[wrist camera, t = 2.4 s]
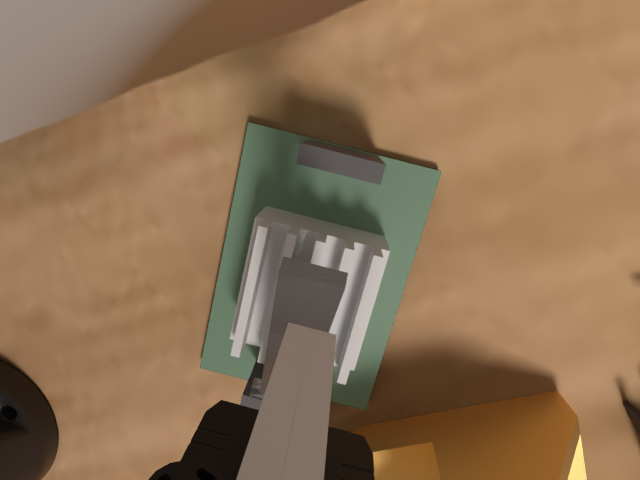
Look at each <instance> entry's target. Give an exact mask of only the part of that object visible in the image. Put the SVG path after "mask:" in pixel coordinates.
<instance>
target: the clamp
mask: <svg viewBox="0 0 640 480" xmlns="http://www.w3.org/2000/svg"><path fill="white" fill-rule="evenodd" d="M351 433H354V434H358V435H362V436H364V437H365V439H366V441H367V443H368V445H369V447H370V449H371V450H372V452H373V459H374V476H375V480H587V478H586V471H585V464H584V457H583V450H582V443H581V436H580V429H579V422H578V416H577V415H576V414H575V412H574V411H573V410H572V409H571V407H570V406H569V405H568V403H567V402H566V401H565V400H564V398H563V397H562V396H561V395H560V393H559V392H558V391H551V392H546V393H540V394H535V395H529V396H524V397H518V398H513V399H507V400H502V401H496V402H491V403H485V404H480V405H475V406H469V407H464V408H458V409H453V410H447V411H442V412H436V413H431V414H425V415H420V416H414V417H409V418H403V419H398V420H392V421H387V422H381V423H376V424H371V425H366V426H363V427H360V428H358V429H356V430H354V431H352V432H351Z"/></svg>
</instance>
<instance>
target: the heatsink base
mask: <svg viewBox="0 0 640 480" xmlns="http://www.w3.org/2000/svg"><path fill="white" fill-rule="evenodd" d="M440 175H441V171H439V170H436V169H432V168H428V167H425V166H421V165H417V164H413V163H409V162H405V161H401V160H397V159H393V158H389V157H385V156H381V155H377V154H374V153H370V152H366V151H362V150H358V149H354V148H350V147H346V146H342V145H338V144H334V143H330V142H326V141H323V140H319V139H315V138H311V137H307V136H303V135H299V134H295V133H291V132H287V131H283V130H279V129H276V128H272V127H268V126H264V125H260V124H256V123H252V122H248V126H247V131H246V136H245V141H244V146H243V151H242V156H241V162H240V167H239V172H238V177H237V182H236V187H235V192H234V197H233V202H232V207H231V212H230V218H229V223H228V228H227V233H226V238H225V243H224V248H223V253H222V258H221V263H220V268H219V274H218V279H217V284H216V289H215V294H214V299H213V304H212V309H211V314H210V319H209V324H208V329H207V335H206V340H205V345H204V350H203V355H202V360H201V365H200V368H202V369H206V370H210V371H214V372H218V373H222V374H226V375H230V376H233V377H237V378H241V379H245V380H248V382H247V385H246V387H245V390H244V392H243V395H242V399H241V404H240V405H242V406H246V407H249V408H253V409H257V410H259V409H260V406H261V403H262V400H263V399H260V398H256V397H252V396H250V391H251V387H252V384H253V380H254V378H255V377H256V378H260V379H262V375H263V369H264V362H265V356H266V349H267V343H268V336H269V330H270V324H271V317H272V311H273V304H274V298H275V291H276V285H277V278H278V272H279V268H280V265H281V262H282V259H283V256H284V257H288V258H292V259H296V260H300V261H304V262H307V263H311V264H315V265H319V266H323V267H327V268H331V269H335V270H339V271H343V272H347V273H348V277H347V282H346V287H345V291H344V293H343V296H342V299H341V301H340V304H339V306H338V309H337V312H336V314H335V317H334V320H333V322H332V325H331V328H330V330H329V333H332V334H335V335H336V344H335V355H334V367H333V378H332V390H331V401H332V402H336V403H339V404H343V405H347V406H351V407H355V408H359V409H363V410H366V408H367V405H368V402H369V399H370V396H371V392H372V389H373V386H374V383H375V380H376V377H377V373H378V370H379V367H380V364H381V361H382V358H383V355H384V351H385V348H386V345H387V342H388V339H389V336H390V332H391V329H392V326H393V323H394V320H395V317H396V314H397V310H398V307H399V304H400V301H401V298H402V295H403V291H404V288H405V285H406V282H407V279H408V276H409V272H410V269H411V266H412V263H413V260H414V257H415V254H416V250H417V247H418V244H419V241H420V238H421V235H422V231H423V228H424V225H425V222H426V219H427V216H428V212H429V209H430V206H431V203H432V200H433V197H434V194H435V190H436V187H437V184H438V181H439V178H440Z"/></svg>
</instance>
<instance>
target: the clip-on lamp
mask: <svg viewBox="0 0 640 480" xmlns="http://www.w3.org/2000/svg"><path fill="white" fill-rule="evenodd" d="M623 404H624V407H625V409H626V412H627V414H628V415H629V417H630V418H631V419H632V420H633V421H634V423H635V425H636V428H637V430H638V432H639V435H640V412H639V411H638V410H637V409H636V408H635V407H634V406H633V405H632V404H630V403H629V402H628V401H627V402H624V403H623Z"/></svg>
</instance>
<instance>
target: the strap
mask: <svg viewBox="0 0 640 480" xmlns="http://www.w3.org/2000/svg"><path fill="white" fill-rule="evenodd" d="M347 277H348V273H347V272H343V271H339V270H335V269H331V268H327V267H323V266H319V265H315V264H311V263H307V262H304V261H300V260H296V259H292V258H288V257H284V256H283V259H282V262H281V265H280V268H279V272H278V278H277V285H276V291H275V298H274V304H273V311H272V317H271V324H270V330H269V336H268V343H267V349H266V356H265V362H264V369H263V375H262V379H260V378H256V377H255V378H254V380H253V384H252V387H251V391H250V396H252V397H256V398H260V399H263V397H264V394H265V391H266V388H267V385H268V382H269V379H270V376H271V373H272V370H273V367H274V364H275V361H276V358H277V355H278V352H279V349H280V346H281V343H282V340H283V337H284V334H285V331H286V328H287V325H288V322H289V323H293V324H297V325H301V326H305V327H308V328H312V329H316V330H320V331H324V332H328V333H329V330H330V328H331V325H332V322H333V320H334V317H335V314H336V312H337V309H338V306H339V304H340V301H341V299H342V296H343V293H344V291H345V287H346V282H347Z"/></svg>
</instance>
